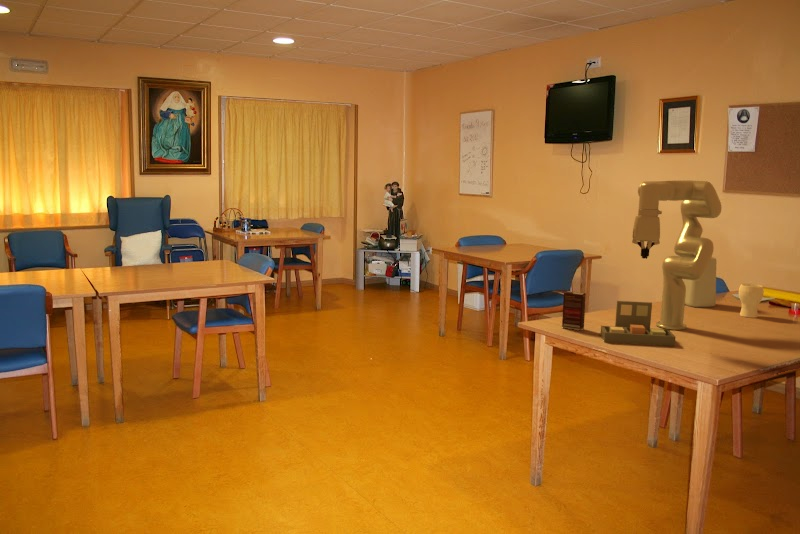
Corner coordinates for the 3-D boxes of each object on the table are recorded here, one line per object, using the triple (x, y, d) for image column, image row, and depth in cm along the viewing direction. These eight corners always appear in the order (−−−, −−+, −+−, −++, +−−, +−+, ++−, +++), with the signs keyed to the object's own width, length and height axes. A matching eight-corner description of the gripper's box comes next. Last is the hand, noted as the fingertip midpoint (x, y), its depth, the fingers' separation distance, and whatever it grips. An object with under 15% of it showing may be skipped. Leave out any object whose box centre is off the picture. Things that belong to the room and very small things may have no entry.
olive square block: (649, 336, 285) (650, 328, 284) (662, 337, 284) (662, 329, 284) (652, 340, 280) (652, 331, 279) (665, 340, 279) (665, 332, 279)
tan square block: (609, 334, 287) (609, 326, 287) (621, 335, 286) (622, 327, 286) (611, 337, 282) (611, 329, 282) (623, 338, 282) (624, 330, 281)
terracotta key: (629, 332, 286) (630, 324, 285) (642, 333, 285) (642, 325, 285) (631, 335, 281) (632, 327, 280) (644, 336, 280) (645, 328, 280)
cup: (766, 317, 332) (769, 286, 330) (749, 319, 328) (752, 287, 326) (747, 313, 342) (750, 282, 340) (731, 314, 338) (734, 283, 336)
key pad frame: (600, 335, 291) (601, 325, 291) (667, 338, 287) (668, 329, 287) (604, 342, 279) (605, 332, 279) (674, 346, 276) (675, 336, 275)
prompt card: (614, 333, 295) (616, 300, 293) (648, 335, 293) (651, 302, 291) (615, 333, 294) (617, 301, 292) (649, 335, 292) (652, 303, 290)
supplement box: (584, 328, 301) (586, 292, 299) (580, 331, 297) (583, 294, 295) (564, 326, 306) (566, 290, 303) (561, 328, 302) (563, 292, 299)
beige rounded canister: (719, 307, 355) (724, 252, 350) (693, 307, 351) (697, 252, 347) (699, 301, 369) (704, 248, 365) (674, 301, 366) (679, 249, 361)
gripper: (665, 213, 285) (661, 257, 287) (627, 212, 287) (624, 256, 290) (669, 214, 277) (665, 260, 280) (630, 213, 279) (627, 258, 282)
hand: (644, 258), depth 285 cm, fingers closed
